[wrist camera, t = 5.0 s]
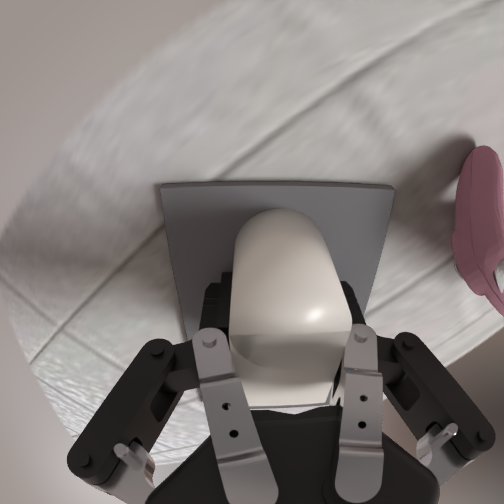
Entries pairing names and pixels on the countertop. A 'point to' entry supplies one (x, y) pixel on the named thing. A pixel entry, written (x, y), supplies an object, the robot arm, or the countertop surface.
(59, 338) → the countertop surface
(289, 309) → the plug block
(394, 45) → the countertop surface
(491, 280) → the video game controller
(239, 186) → the rubber mat
